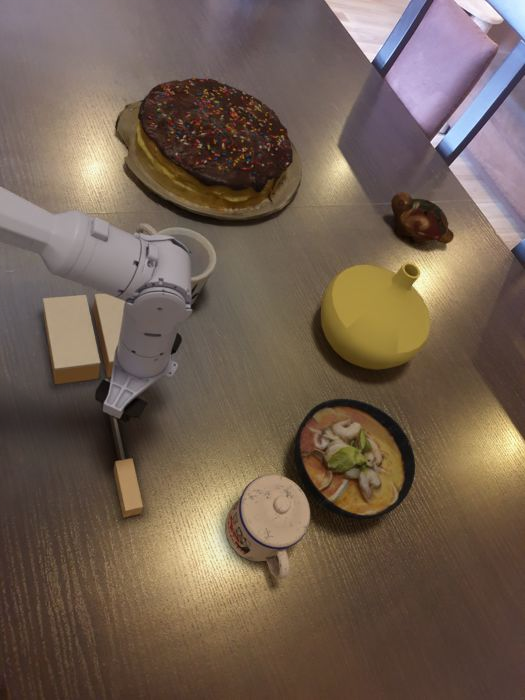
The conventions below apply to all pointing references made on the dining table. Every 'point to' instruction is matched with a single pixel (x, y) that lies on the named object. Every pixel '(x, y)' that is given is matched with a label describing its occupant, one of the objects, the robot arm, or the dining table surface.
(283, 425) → the dining table surface
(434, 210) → the decorative turtle
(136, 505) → the knife
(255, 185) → the cake
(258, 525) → the teacup with lid
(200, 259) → the mug
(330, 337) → the vase
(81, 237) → the robot arm
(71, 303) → the sponge cake
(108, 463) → the dining table surface
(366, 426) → the bowl
